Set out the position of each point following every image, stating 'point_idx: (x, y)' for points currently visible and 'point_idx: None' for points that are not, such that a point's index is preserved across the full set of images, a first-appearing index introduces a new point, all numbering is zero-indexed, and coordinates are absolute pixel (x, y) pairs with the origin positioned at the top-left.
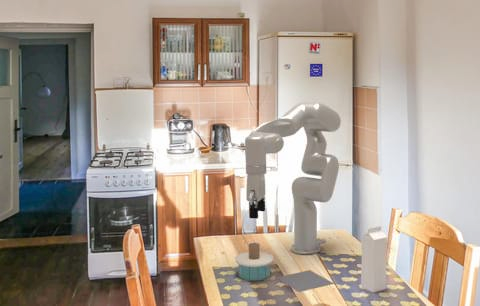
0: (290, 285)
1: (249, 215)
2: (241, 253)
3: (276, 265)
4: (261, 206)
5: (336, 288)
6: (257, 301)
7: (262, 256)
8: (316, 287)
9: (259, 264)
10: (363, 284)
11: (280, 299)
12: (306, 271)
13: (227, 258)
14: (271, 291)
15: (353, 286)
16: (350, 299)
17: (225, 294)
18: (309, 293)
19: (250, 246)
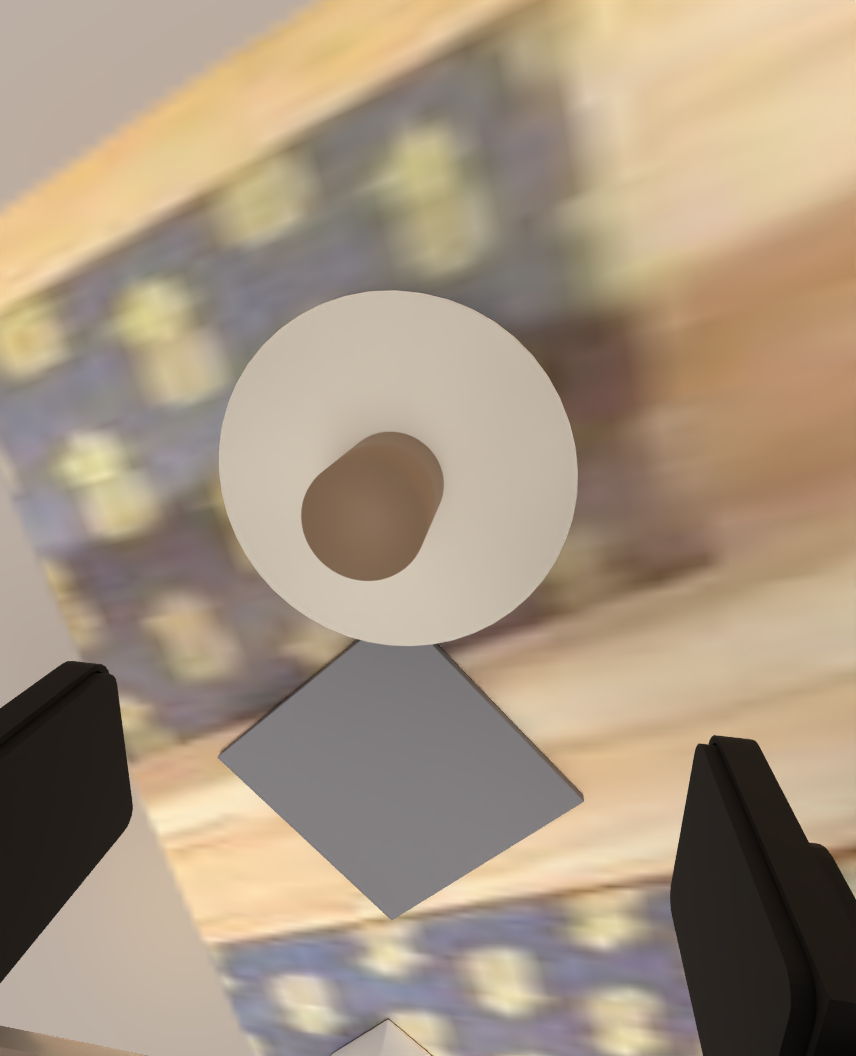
0: (292, 709)
1: (35, 687)
2: (482, 323)
3: (673, 569)
4: (709, 947)
5: (348, 920)
6: (35, 555)
7: (441, 551)
8: (307, 839)
9: (251, 559)
10: (370, 1051)
11: (110, 670)
12: (553, 782)
13: (825, 56)
14: (194, 608)
15: (398, 990)
16: (235, 966)
17: (43, 332)
18: (239, 802)
19: (307, 491)
